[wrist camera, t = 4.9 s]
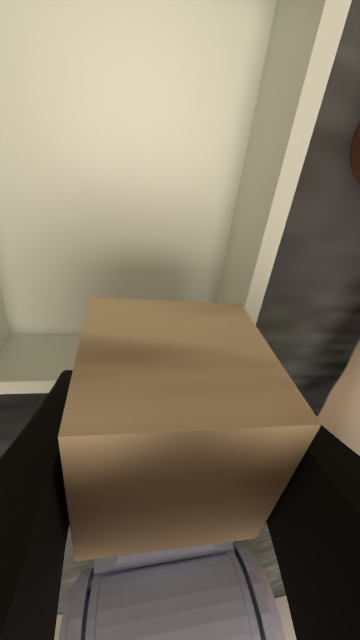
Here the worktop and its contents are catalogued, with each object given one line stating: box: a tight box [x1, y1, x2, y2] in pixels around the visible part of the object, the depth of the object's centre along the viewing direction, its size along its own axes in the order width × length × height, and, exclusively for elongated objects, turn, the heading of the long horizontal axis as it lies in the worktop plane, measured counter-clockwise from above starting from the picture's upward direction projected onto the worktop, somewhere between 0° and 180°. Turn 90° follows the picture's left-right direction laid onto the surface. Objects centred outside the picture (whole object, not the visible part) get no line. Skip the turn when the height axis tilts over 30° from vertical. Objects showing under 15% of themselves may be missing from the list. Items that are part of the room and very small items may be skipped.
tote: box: [0, 0, 352, 394], centre depth 13 cm, size 18×14×5 cm
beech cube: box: [58, 297, 321, 562], centre depth 9 cm, size 5×5×5 cm
